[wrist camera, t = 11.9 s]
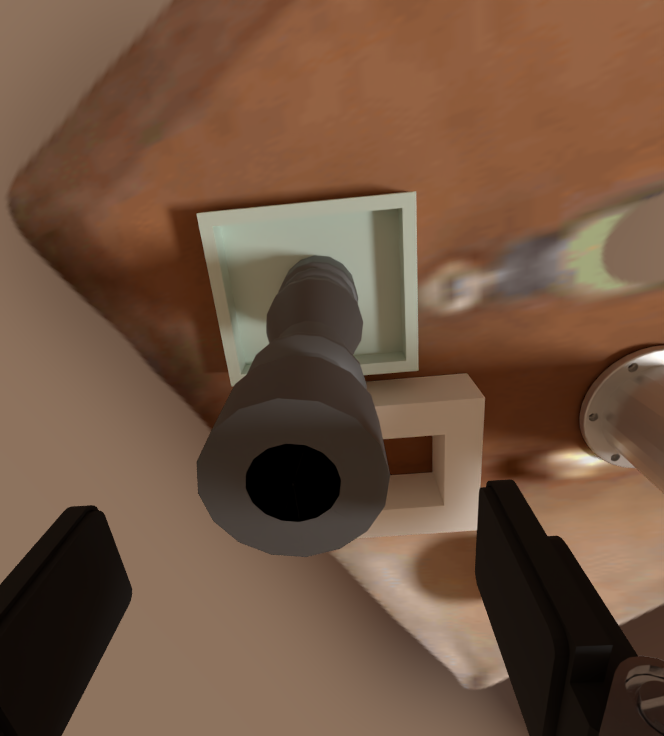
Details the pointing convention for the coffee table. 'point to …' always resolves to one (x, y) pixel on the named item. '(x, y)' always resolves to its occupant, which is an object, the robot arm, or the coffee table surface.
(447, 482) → the socket block
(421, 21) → the coffee table surface
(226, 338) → the parts tray
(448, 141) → the coffee table surface
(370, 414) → the candle holder
